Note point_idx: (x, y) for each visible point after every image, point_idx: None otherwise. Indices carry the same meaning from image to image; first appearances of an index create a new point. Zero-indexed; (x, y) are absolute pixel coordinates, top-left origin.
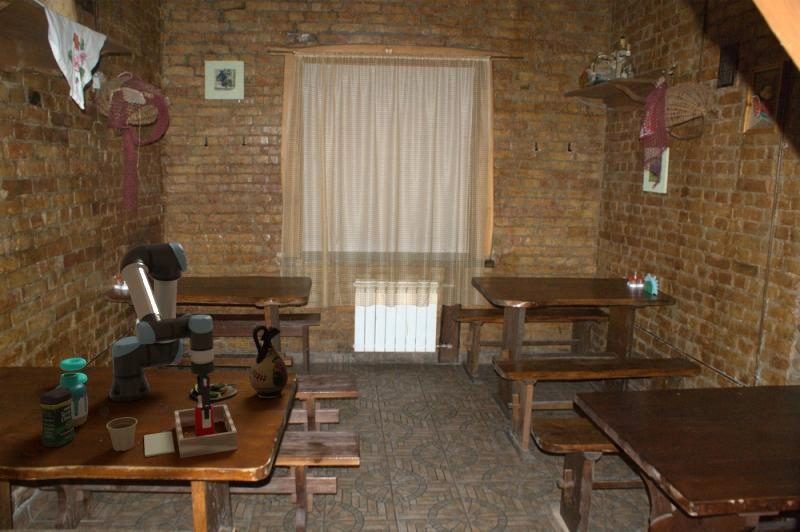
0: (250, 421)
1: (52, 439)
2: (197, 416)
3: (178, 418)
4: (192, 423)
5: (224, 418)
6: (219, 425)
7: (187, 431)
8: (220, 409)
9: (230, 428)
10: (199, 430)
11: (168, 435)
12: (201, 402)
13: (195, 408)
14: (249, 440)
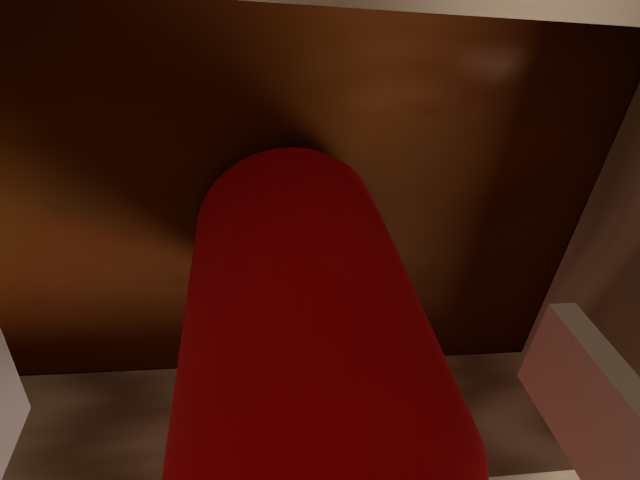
0: None
1: None
2: (222, 354)
3: (627, 4)
4: (629, 148)
5: (487, 390)
6: (467, 325)
7: (517, 75)
8: None
9: (100, 478)
10: (212, 227)
11: None
12: (635, 472)
13: (357, 441)
14: None
